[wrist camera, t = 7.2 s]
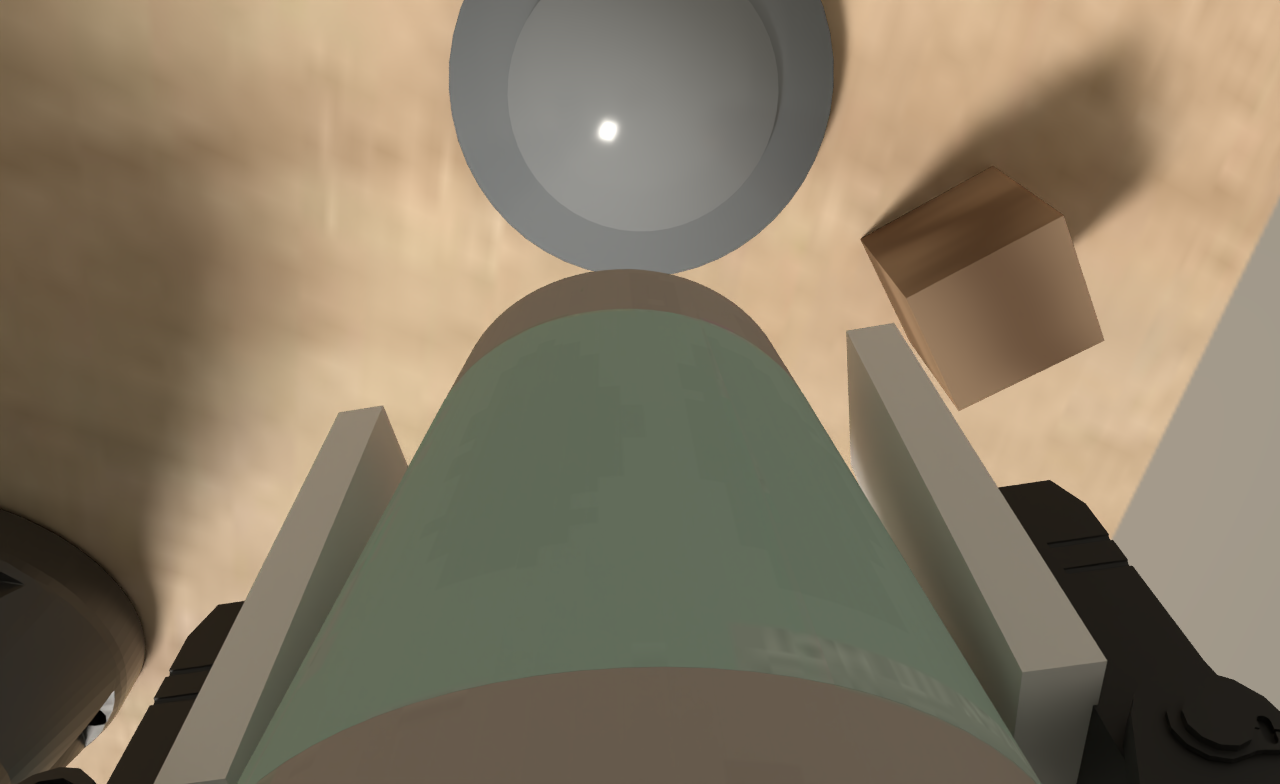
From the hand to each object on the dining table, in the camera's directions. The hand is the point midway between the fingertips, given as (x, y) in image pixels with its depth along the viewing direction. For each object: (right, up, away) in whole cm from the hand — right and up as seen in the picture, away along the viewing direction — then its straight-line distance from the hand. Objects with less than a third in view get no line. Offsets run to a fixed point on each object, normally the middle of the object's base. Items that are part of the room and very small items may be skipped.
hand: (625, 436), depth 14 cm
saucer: (0, +10, +12) cm, 16 cm away
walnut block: (+12, +6, +16) cm, 21 cm away
